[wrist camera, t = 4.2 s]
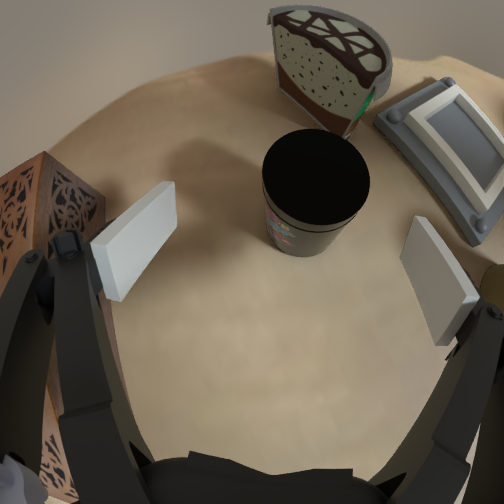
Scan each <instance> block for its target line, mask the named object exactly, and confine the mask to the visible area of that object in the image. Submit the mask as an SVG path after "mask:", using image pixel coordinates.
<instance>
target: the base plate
mask: <svg viewBox="0 0 504 504" xmlns="http://www.w3.org/2000/svg"><path fill="white" fill-rule="evenodd" d="M373 124H374V125H375V126H376V127H377V128H378V129H379V130H380V131H381V132H382V133H383V134H384V135H385V136H386V137H387V138H388V139H389V140H390V141H391V142H392V143H393V144H394V145H395V146H396V147H397V149H398V150H399V151H400V152H401V153H402V154H403V155H404V156H405V157H406V158H407V160H408V161H409V162H410V163H411V164H412V165H413V167H414V168H415V169H416V170H417V171H418V172H419V174H420V175H421V176H422V177H423V179H424V180H425V181H426V182H427V183H428V185H429V186H430V187H431V189H432V190H433V191H434V192H435V194H436V195H437V196H438V198H439V199H440V200H441V202H442V203H443V204H444V206H445V207H446V208H447V210H448V211H449V213H450V214H451V216H452V217H453V218H454V220H455V221H456V223H457V224H458V226H459V227H460V229H461V230H462V232H463V233H464V235H465V236H466V238H467V240H468V241H469V243H470V244H471V246H472V247H475V246H477V245H480V244H482V242H483V241H484V239H485V238H486V236H487V235H488V234H489V232H490V231H491V229H492V228H493V226H494V225H495V223H496V222H497V220H498V219H499V217H500V216H501V214H502V212H503V211H504V137H503V136H502V135H501V133H500V132H499V131H498V130H497V128H496V127H495V126H494V125H493V123H492V122H491V121H490V120H489V119H488V117H487V116H486V115H485V114H484V113H483V112H482V110H481V109H480V108H479V107H478V106H477V105H476V104H475V103H474V102H473V101H472V100H471V98H470V97H469V96H468V95H467V94H466V93H465V92H464V91H463V90H462V89H461V88H460V87H459V86H458V85H457V84H456V82H455V81H454V80H453V79H452V78H450V77H444V78H442V79H440V80H439V81H437V82H435V83H433V84H431V85H429V86H427V87H425V88H423V89H422V90H420V91H418V92H416V93H414V94H412V95H411V96H409V97H407V98H405V99H403V100H402V101H400V102H398V103H396V104H395V105H393V106H391V107H389V108H387V109H386V110H384V111H382V112H381V113H379V114H377V116H376V118H375V120H374V122H373Z"/></svg>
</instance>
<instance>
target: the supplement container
mask: <svg viewBox="0 0 504 504" xmlns="http://www.w3.org/2000/svg"><path fill="white" fill-rule="evenodd" d="M262 178H263V182H262V183H263V192H264V198H265V213H266V226H267V231H268V234H269V236H270V238H271V240H272V241H273V243H274V244H275V245H276V246H277V247H278V248H279V249H280V250H282V251H283V252H285V253H287V254H289V255H292V256H296V257H311V256H314V255H317V254H319V253H321V252H323V251H324V250H325V249H327V248H328V247H329V245H330V244H331V243H332V242H333V241H334V239H335V238H336V237H337V236H338V235H339V233H340V232H341V231H342V230H343V229H344V227H345V226H346V225H347V224H348V223H349V222H350V221H351V220H352V219H353V218H354V217H355V215H356V214H357V213H358V211H359V210H360V209H361V207H362V206H363V204H364V203H365V201H366V199H367V196H368V193H369V188H370V176H369V171H368V168H367V165H366V163H365V161H364V159H363V157H362V156H361V154H360V153H359V152H358V150H357V149H356V148H355V147H354V146H353V145H352V144H351V143H349V142H348V141H347V140H345V139H344V138H342V137H340V136H338V135H336V134H334V133H331V132H328V131H325V130H319V129H302V130H297V131H294V132H291V133H288V134H286V135H284V136H283V137H281V138H280V139H278V140H277V141H276V142H275V143H274V144H273V145H272V146H271V147H270V149H269V150H268V152H267V154H266V156H265V159H264V162H263V167H262Z"/></svg>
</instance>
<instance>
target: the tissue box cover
mask: <svg viewBox="0 0 504 504" xmlns="http://www.w3.org/2000/svg"><path fill="white" fill-rule="evenodd" d="M104 225H105V197H104V196H103V195H101V194H100V193H99V192H97V191H96V190H95V189H93V188H92V187H91V186H89V185H88V184H87V183H85V182H84V181H83V180H81V179H80V178H79V177H77V176H76V175H75V174H74V173H72V172H71V171H70V170H68V169H67V168H66V167H64V166H63V165H62V164H61V163H59V162H58V161H57V160H56V159H54V158H53V157H52V156H51V155H49V154H48V153H47V152H46V151H43V152H42V153H40V154H38V155H36V156H35V157H33V158H31V159H29V160H27V161H26V162H24V163H23V164H21V165H19V166H18V167H16V168H14V169H13V170H11V171H10V172H8V173H7V174H5V175H4V176H2V177H1V178H0V297H1V295H2V293H3V291H4V289H5V287H6V285H7V283H8V281H9V279H10V277H11V275H12V273H13V271H14V269H15V267H16V265H17V263H18V261H19V260H20V258H21V257H22V256H23V255H24V254H25V253H26V252H27V251H29V250H34V249H41V250H43V252H44V254H45V257H46V259H52V258H56V257H55V254H54V251H53V248H52V245H51V242H50V240H51V238H52V237H53V236H54V235H55V234H56V233H57V232H59V231H61V230H64V229H68V228H76V229H78V230H79V231H80V234H81V238H82V242H83V244H84V243H85V242H86V241H87V240H88V239H89V238H90V237H91V236H93V235H94V234H96V232H97V231H98V230H99V229H101V227H103V226H104ZM99 297H100V300H101V305H102V310H103V314H104V319H105V324H106V328H107V332H108V336H109V340H110V344H111V348H112V352H113V355H114V359H115V362H116V366H117V369H118V372H119V376H120V379H121V382H122V385H123V388H124V391H125V394H126V397H127V400H128V403H129V405H130V401H129V397H128V393H127V389H126V385H125V381H124V376H123V372H122V367H121V362H120V357H119V352H118V347H117V341H116V335H115V329H114V323H113V316H112V309H111V301H110V299H107V298H106V295H105V292H104V289H102V290H101V291H100V292H99ZM130 408H131V405H130ZM131 411H132V408H131ZM62 414H64V406H63V401H62V395H61V388H60V381H59V374H58V365H57V355H56V342H55V335H54V340H53V345H52V350H51V356H50V362H49V368H48V375H47V382H46V390H45V400H44V412H43V429H42V460H41V467H40V474H39V479H40V480H41V482H42V485H43V486H44V487H45V488H46V489H47V491H48V495H50V496H52V497H54V498H57V499H60V500H62V501H65V502H68V503H70V504H71V503H73V502H76V501H78V500H79V497H78V494H77V492H76V489H75V486H74V483H73V480H72V477H71V474H70V470H69V467H68V464H67V460H66V457H65V453H64V449H63V445H62V441H61V436H60V432H59V426H58V418H59V416H60V415H62ZM132 414H133V412H132ZM133 416H134V415H133Z"/></svg>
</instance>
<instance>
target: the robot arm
mask: <svg viewBox="0 0 504 504" xmlns="http://www.w3.org/2000/svg"><path fill="white" fill-rule="evenodd" d="M176 227H177V215H176V199H175V182H171V181H161V182H160V183H159V184H158V185H156V186H155V187H154V188H152V189H151V190H150V191H149V192H148V193H146V194H145V195H144V196H143V197H141V198H140V199H139V200H138V201H137V202H135V203H134V204H133V205H132V206H131V207H129V208H128V209H127V210H126V211H125V212H124V213H123V214H121V215H120V216H119V217H118V218H115V219H113V220H111V221H109V222H107V223H106V224H105V225H104V226H103V227H101V229H99V230H98V231H97V232H96V234H94V235H93V236H91V237H90V238H89V239H88V240H87V241H86V242H85V243H84V244H83V242H82V238H81V234H80V231H79V230H78V229H76V228H68V229H64V230H61V231H59V232H57V233H56V234H55V235H54V236H53V237H52V238H51V240H50V242H51V245H52V248H53V251H54V254H55V257H56V258H52V259H46V257H45V254H44V252H43V250H41V249H34V250H29V251H27V252H26V253H25V254H24V255H23V256H22V257H21V258H20V260H19V261H18V263H17V265H16V267H15V269H14V271H13V273H12V275H11V277H10V279H9V281H8V283H7V285H6V287H5V289H4V291H3V293H2V295H1V297H0V504H45V503H44V501H46V500H47V499H48V491H47V489H46V488H45V487H44V486H43V485H42V482H41V480H40V479H39V474H40V467H41V460H42V429H43V412H44V400H45V390H46V382H47V375H48V368H49V362H50V356H51V350H52V345H53V340H54V335H55V342H56V355H57V365H58V374H59V381H60V388H61V395H62V401H63V406H64V414H62V415H60V416H59V418H58V426H59V432H60V436H61V441H62V445H63V449H64V453H65V457H66V460H67V464H68V467H69V470H70V474H71V477H72V480H73V483H74V486H75V489H76V492H77V494H78V497H79V500H78V501H76V502H73V503H71V504H454V502H455V500H456V498H457V496H458V495H459V493H460V491H461V489H462V487H463V485H464V483H465V481H466V479H467V477H468V475H469V472H470V469H471V466H470V464H469V463H468V462H466V457H467V454H468V452H469V450H470V448H471V445H472V443H473V441H474V438H475V436H476V433H477V430H478V428H479V425H480V430H479V436H478V442H477V447H476V452H475V457H474V461H473V465H472V469H471V473H470V477H469V481H468V484H467V487H466V491H465V494H464V497H463V500H462V503H461V504H504V315H503V312H502V311H501V310H500V309H499V308H498V307H497V306H496V305H494V304H492V303H489V302H485V300H484V298H483V297H482V295H481V293H480V292H479V290H478V288H477V287H476V286H475V283H474V282H473V280H472V279H471V277H470V275H469V274H468V272H467V271H466V270H465V269H464V268H463V267H462V266H461V265H460V264H459V263H458V261H457V260H456V258H455V257H454V255H453V254H452V252H451V251H450V249H449V248H448V247H447V245H446V244H445V242H444V241H443V240H442V238H441V237H440V236H439V234H438V233H437V231H436V230H435V229H434V228H433V226H432V225H431V224H430V222H429V221H428V220H427V218H425V217H421V216H416V215H414V218H413V221H412V224H411V227H410V230H409V233H408V236H407V239H406V242H405V245H404V247H403V250H402V253H401V255H400V259H401V261H402V263H403V265H404V267H405V270H406V272H407V274H408V276H409V279H410V281H411V283H412V286H413V288H414V291H415V293H416V295H417V298H418V300H419V303H420V305H421V308H422V311H423V313H424V316H425V319H426V321H427V324H428V327H429V330H430V332H431V335H432V338H433V341H434V344H435V346H448V345H449V344H450V342H451V341H452V340H453V338H454V337H455V336H456V339H457V341H458V343H457V344H456V346H455V347H454V348H453V350H452V351H451V352H450V353H449V355H448V356H447V357H446V359H445V360H446V361H447V360H448V359H449V360H448V362H447V364H446V366H445V368H444V370H443V372H442V375H441V377H440V379H439V381H438V383H437V385H436V386H435V388H434V390H433V392H432V394H431V396H430V398H429V399H428V401H427V403H426V405H425V407H424V408H423V410H422V412H421V413H420V415H419V417H418V418H417V420H416V422H415V423H414V425H413V426H412V428H411V430H410V431H409V433H408V434H407V436H406V437H405V439H404V440H403V442H402V443H401V445H400V446H399V447H398V449H397V450H396V452H395V453H394V454H393V456H392V457H391V458H390V460H389V461H388V462H387V464H386V465H385V466H384V467H383V468H382V469H381V470H380V471H379V472H378V473H377V474H376V475H375V476H373V477H372V478H371V479H370V480H369V481H368V482H367V481H365V480H363V479H360V478H357V477H354V476H353V469H311V470H305V471H300V472H294V473H287V474H280V475H269V474H265V473H263V472H260V471H257V470H255V469H252V468H249V467H247V466H244V465H242V464H239V463H237V462H235V461H232V460H230V459H224V458H219V457H215V456H210V455H206V454H201V453H197V452H193V451H190V452H189V455H188V457H178V458H169V459H163V460H160V461H156V462H155V460H154V458H153V456H152V454H151V452H150V450H149V449H148V447H147V445H146V444H145V442H144V440H143V438H142V436H141V434H140V431H139V429H138V426H137V424H136V421H135V419H134V416H133V414H132V411H131V408H130V405H129V403H128V400H127V397H126V394H125V391H124V388H123V385H122V382H121V379H120V376H119V372H118V369H117V366H116V362H115V359H114V355H113V352H112V348H111V344H110V340H109V336H108V332H107V328H106V324H105V319H104V314H103V310H102V305H101V300H100V297H99V292H100V291H101V290H102V289H104V292H105V295H106V298H107V299H110V300H114V301H118V302H122V300H123V299H124V297H125V296H126V295H127V293H128V292H129V290H130V289H131V287H132V286H133V285H134V283H135V282H136V280H137V279H138V278H139V276H140V275H141V273H142V272H143V271H144V269H145V268H146V267H147V265H148V264H149V263H150V261H151V260H152V259H153V257H154V256H155V255H156V253H157V252H158V251H159V249H160V248H161V247H162V245H163V244H164V243H165V241H166V240H167V239H168V238H169V236H170V235H171V234H172V232H173V231H174V230H175V229H176ZM480 422H481V423H480Z"/></svg>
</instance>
